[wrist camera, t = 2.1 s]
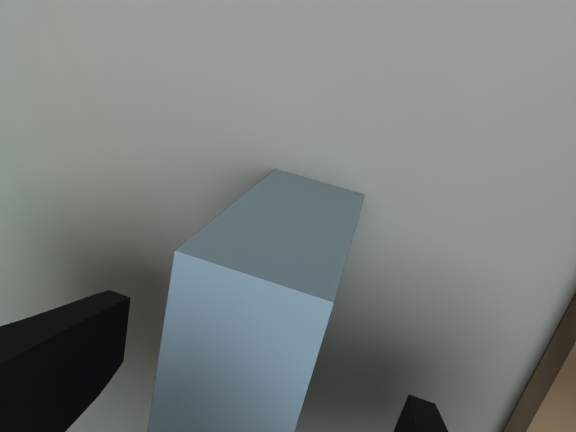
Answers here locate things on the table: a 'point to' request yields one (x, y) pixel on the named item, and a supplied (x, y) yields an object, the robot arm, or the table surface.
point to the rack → (551, 385)
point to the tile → (252, 308)
